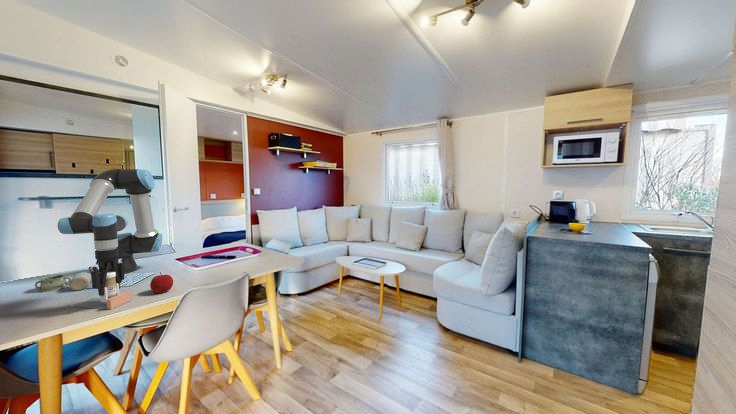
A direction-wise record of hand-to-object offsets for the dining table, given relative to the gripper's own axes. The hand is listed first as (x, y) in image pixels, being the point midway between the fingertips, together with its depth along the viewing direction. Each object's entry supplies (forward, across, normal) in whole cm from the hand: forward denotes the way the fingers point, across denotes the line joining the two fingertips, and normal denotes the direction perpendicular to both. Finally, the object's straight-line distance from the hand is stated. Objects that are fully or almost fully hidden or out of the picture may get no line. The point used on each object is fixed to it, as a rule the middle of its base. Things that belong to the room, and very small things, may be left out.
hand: (110, 299), depth 121 cm
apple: (+3, -16, +10) cm, 19 cm away
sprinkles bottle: (+1, 0, 0) cm, 1 cm away
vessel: (+3, -12, -46) cm, 48 cm away
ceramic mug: (+3, -15, -33) cm, 36 cm away
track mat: (+2, 0, -4) cm, 5 cm away
